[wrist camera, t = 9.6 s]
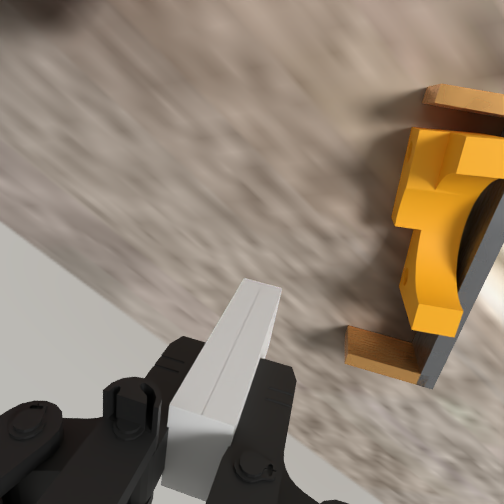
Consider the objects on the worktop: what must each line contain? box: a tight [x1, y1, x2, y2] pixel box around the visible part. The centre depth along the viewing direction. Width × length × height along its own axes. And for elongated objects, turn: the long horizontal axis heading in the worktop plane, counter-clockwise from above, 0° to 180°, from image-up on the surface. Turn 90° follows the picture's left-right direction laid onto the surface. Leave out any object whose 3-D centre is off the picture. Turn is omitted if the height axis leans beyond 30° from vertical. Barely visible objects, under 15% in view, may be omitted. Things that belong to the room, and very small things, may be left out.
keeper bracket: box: [345, 84, 504, 389], centre depth 26 cm, size 7×20×4 cm, turn 170°
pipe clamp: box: [391, 127, 504, 338], centre depth 24 cm, size 12×4×6 cm, turn 176°
